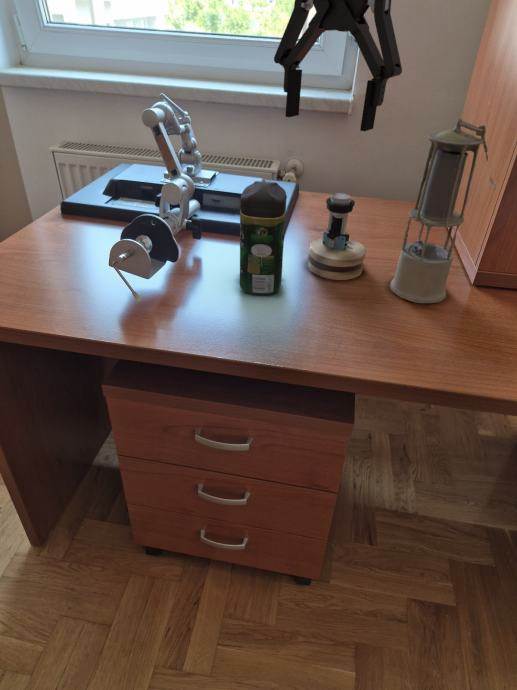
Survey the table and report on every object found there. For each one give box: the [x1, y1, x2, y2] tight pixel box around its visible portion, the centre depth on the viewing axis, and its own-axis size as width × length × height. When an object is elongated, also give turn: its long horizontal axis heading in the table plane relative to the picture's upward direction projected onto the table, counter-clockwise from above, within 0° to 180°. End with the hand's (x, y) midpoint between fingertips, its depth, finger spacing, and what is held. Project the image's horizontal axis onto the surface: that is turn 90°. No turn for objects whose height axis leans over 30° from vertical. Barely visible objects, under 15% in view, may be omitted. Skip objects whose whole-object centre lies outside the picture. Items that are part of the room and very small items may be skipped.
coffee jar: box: [239, 180, 288, 296], centre depth 85 cm, size 10×8×19 cm
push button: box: [322, 192, 356, 250], centre depth 92 cm, size 7×5×10 cm
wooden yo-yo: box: [307, 237, 367, 281], centre depth 96 cm, size 12×12×4 cm
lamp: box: [389, 118, 496, 304], centre depth 82 cm, size 10×13×30 cm
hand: (327, 122), depth 74 cm, fingers open, 13 cm apart
